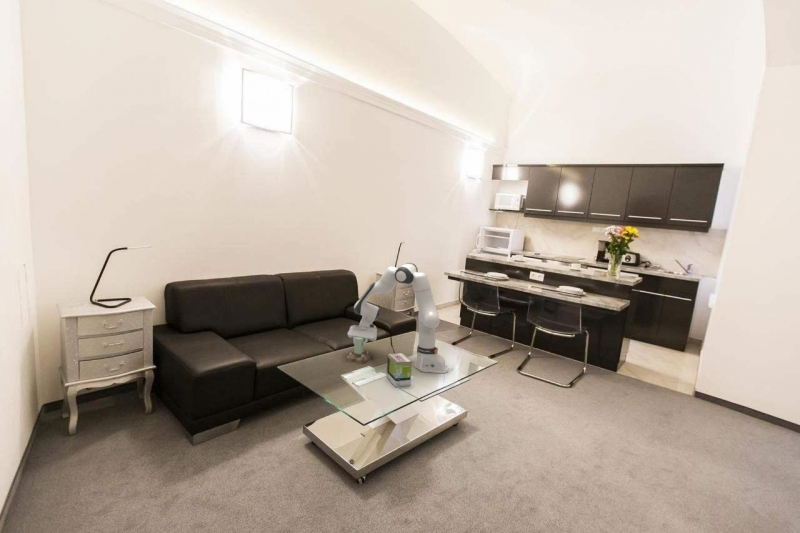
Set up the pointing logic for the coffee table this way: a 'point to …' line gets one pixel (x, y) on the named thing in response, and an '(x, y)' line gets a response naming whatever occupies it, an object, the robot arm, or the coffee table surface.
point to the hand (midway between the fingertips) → (358, 344)
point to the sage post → (358, 345)
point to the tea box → (399, 369)
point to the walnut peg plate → (358, 357)
